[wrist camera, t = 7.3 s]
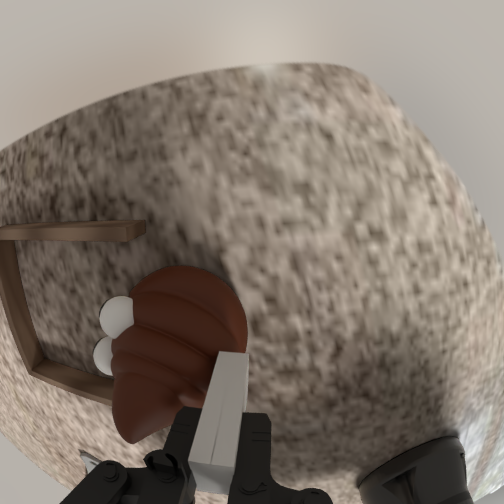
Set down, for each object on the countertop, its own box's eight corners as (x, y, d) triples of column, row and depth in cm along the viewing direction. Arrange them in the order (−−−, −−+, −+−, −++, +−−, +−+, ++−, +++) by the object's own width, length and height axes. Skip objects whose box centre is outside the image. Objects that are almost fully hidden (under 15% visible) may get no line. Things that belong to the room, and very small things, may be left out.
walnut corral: (144, 219, 16) (125, 227, 14) (169, 398, 20) (161, 418, 17) (6, 224, 17) (-13, 230, 15) (41, 361, 21) (28, 374, 18)
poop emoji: (213, 396, 19) (188, 496, 10) (116, 348, 19) (53, 427, 10) (273, 296, 17) (275, 410, 8) (149, 235, 16) (46, 292, 7)
